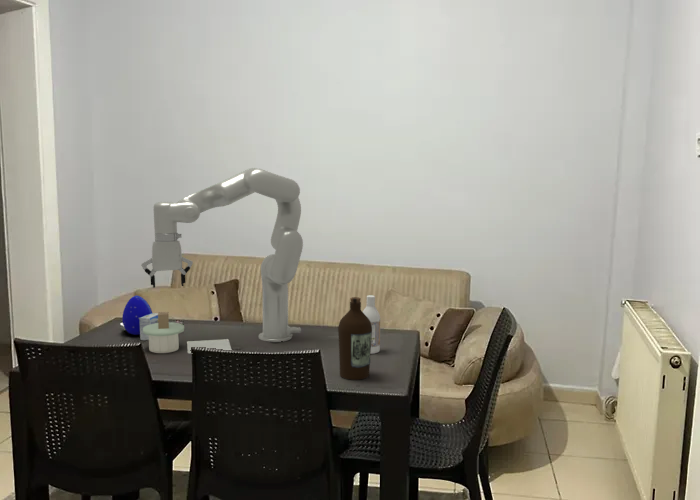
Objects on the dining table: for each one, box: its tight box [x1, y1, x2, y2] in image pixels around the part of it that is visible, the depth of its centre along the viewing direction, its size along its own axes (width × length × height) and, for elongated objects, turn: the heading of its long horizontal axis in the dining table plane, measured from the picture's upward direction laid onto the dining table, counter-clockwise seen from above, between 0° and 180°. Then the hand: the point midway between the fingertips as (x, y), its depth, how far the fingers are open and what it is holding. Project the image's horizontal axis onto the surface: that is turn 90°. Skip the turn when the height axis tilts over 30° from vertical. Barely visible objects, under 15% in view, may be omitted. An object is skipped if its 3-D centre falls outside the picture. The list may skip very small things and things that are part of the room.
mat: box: [186, 338, 233, 354], centre depth 251 cm, size 15×15×1 cm
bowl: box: [148, 334, 180, 354], centre depth 246 cm, size 10×10×7 cm
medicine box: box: [139, 312, 159, 341], centre depth 261 cm, size 8×4×9 cm, turn 162°
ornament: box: [121, 295, 153, 336], centre depth 266 cm, size 11×9×15 cm
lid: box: [143, 311, 185, 336], centre depth 245 cm, size 14×14×6 cm
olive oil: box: [337, 296, 372, 381], centre depth 220 cm, size 11×11×25 cm
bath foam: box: [362, 294, 381, 355], centre depth 247 cm, size 7×7×20 cm
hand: (168, 286), depth 245 cm, fingers open, 9 cm apart
